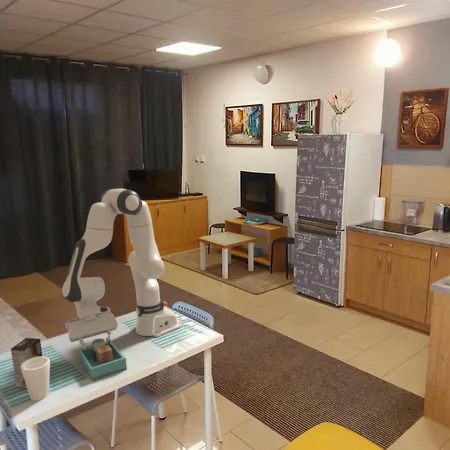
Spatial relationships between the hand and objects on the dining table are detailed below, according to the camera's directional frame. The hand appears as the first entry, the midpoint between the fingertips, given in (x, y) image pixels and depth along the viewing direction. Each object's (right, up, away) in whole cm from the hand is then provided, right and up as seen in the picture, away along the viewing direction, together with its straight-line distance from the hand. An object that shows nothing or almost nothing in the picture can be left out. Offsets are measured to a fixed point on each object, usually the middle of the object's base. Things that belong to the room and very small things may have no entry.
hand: (97, 344), depth 175 cm
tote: (+3, -8, -2) cm, 9 cm away
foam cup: (-15, -13, -22) cm, 29 cm away
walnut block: (+5, -7, -6) cm, 11 cm away
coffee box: (-22, -11, -12) cm, 28 cm away
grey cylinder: (+1, -6, +1) cm, 6 cm away
